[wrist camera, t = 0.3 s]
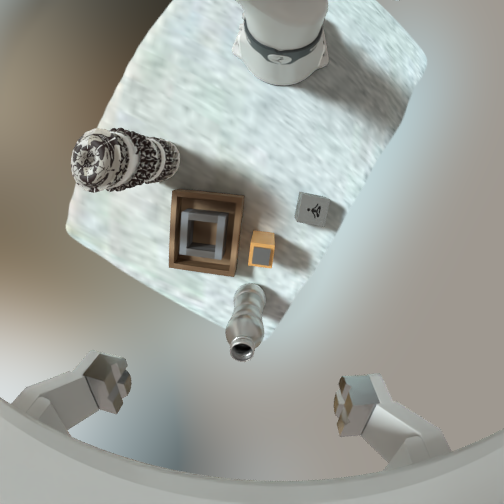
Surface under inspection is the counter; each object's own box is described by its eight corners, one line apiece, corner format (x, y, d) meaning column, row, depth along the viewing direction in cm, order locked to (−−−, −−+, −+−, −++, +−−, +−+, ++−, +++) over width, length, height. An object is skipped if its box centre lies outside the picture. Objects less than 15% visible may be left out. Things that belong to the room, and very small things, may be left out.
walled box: (178, 188, 53) (169, 191, 48) (244, 195, 53) (241, 198, 48) (175, 260, 57) (166, 269, 52) (236, 269, 57) (233, 279, 52)
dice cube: (319, 221, 53) (324, 227, 49) (294, 217, 53) (297, 221, 49) (324, 196, 52) (330, 199, 47) (299, 191, 52) (302, 193, 47)
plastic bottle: (270, 285, 58) (270, 341, 39) (259, 312, 60) (254, 373, 41) (241, 275, 58) (227, 328, 38) (230, 302, 60) (215, 361, 40)
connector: (253, 230, 55) (250, 243, 45) (274, 232, 55) (275, 246, 45) (251, 249, 56) (247, 266, 47) (271, 252, 56) (271, 269, 47)
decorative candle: (141, 138, 50) (62, 128, 26) (183, 137, 50) (120, 118, 26) (139, 182, 53) (60, 198, 29) (181, 183, 53) (117, 197, 29)
